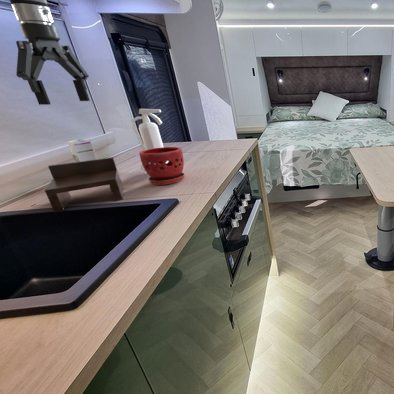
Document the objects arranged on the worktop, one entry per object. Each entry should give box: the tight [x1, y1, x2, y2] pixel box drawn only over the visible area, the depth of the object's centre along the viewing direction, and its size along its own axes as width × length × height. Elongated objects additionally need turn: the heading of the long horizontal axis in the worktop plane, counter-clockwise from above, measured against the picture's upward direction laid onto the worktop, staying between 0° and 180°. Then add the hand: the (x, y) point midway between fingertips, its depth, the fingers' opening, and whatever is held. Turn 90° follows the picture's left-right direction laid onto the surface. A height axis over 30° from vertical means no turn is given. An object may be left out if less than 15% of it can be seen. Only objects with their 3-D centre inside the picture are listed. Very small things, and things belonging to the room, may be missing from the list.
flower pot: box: [138, 146, 186, 186], centre depth 106 cm, size 13×13×12 cm
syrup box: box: [66, 138, 98, 162], centre depth 112 cm, size 6×6×14 cm
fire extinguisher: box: [131, 108, 169, 172], centre depth 116 cm, size 7×12×25 cm, turn 106°
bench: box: [44, 157, 124, 214], centre depth 91 cm, size 16×14×11 cm
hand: (66, 102), depth 90 cm, fingers open, 13 cm apart
